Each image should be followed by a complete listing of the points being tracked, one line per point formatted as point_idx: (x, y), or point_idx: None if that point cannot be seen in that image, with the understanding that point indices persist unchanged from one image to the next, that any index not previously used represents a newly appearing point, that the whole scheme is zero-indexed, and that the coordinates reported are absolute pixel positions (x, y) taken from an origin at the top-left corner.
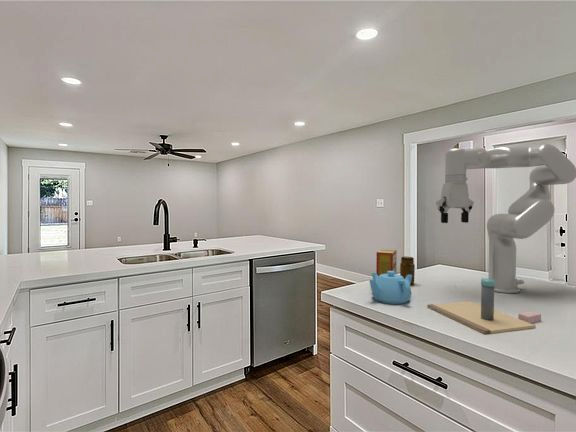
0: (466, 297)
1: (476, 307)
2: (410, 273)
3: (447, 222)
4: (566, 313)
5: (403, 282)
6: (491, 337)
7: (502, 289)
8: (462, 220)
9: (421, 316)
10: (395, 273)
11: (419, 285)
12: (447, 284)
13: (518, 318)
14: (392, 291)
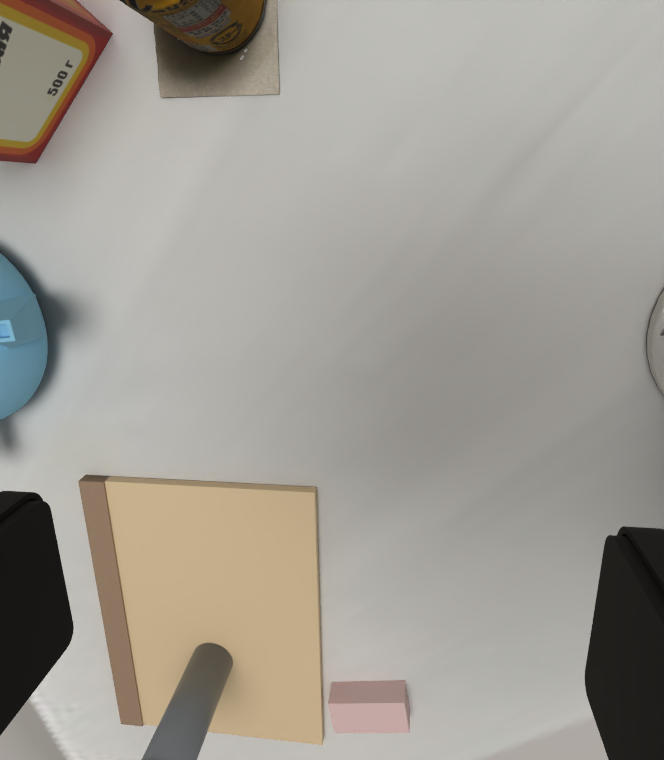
0: (376, 406)
1: (270, 565)
2: (179, 31)
3: (54, 646)
4: None
5: None
6: (132, 731)
7: None
8: (618, 594)
9: None
10: (36, 38)
11: (271, 86)
12: (505, 100)
13: (331, 688)
14: None
